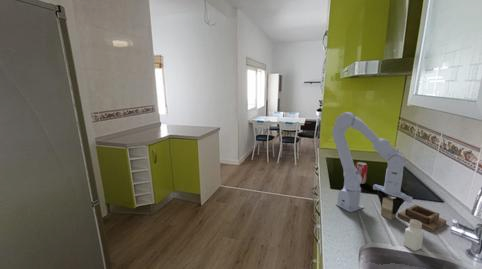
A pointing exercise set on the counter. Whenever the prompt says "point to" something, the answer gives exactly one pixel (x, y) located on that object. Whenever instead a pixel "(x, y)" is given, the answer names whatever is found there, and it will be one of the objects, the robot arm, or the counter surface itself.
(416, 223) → the salt shaker
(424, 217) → the peg holder
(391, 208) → the birch peg
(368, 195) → the counter surface
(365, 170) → the beverage can
